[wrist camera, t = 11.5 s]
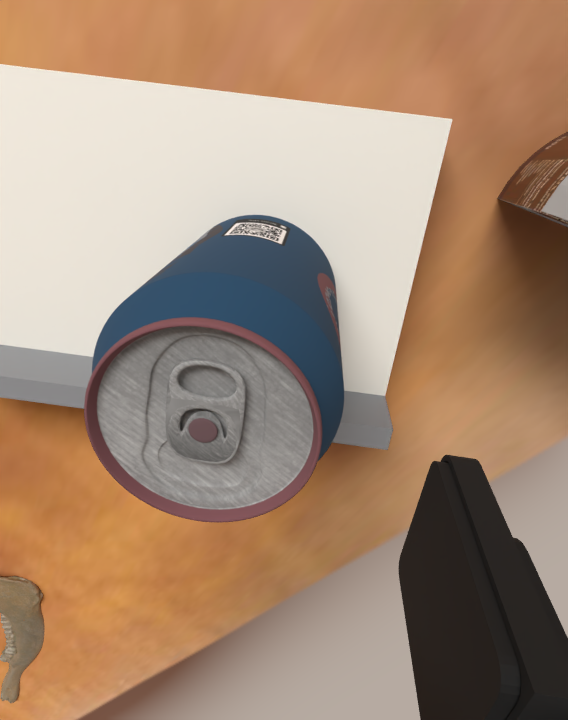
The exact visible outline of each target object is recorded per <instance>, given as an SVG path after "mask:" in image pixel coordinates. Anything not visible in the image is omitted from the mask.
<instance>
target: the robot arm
mask: <svg viewBox="0 0 568 720" xmlns="http://www.w3.org/2000/svg"><path fill="white" fill-rule="evenodd" d="M399 578H400V586H401V592H402V599H403V605H404V612H405V619H406V625H407V632H408V639H409V645H410V652H411V658H412V665H413V671H414V679H415V685H416V692H417V698H418V705H419V712H420V718H421V720H568V638H567V636H566V634H565V632H564V629H563V627H562V625H561V623H560V621H559V618H558V616H557V614H556V612H555V610H554V608H553V605H552V603H551V601H550V599H549V597H548V595H547V593H546V591H545V588H544V586H543V584H542V582H541V580H540V577H539V575H538V573H537V571H536V569H535V566H534V564H533V562H532V560H531V558H530V555H529V553H528V551H527V550H526V548H525V546H524V545H523V543H522V542H521V541H520V540H518V539H517V538H513V537H512V535H511V532H510V530H509V528H508V526H507V523H506V521H505V519H504V517H503V514H502V512H501V510H500V508H499V505H498V503H497V501H496V498H495V496H494V494H493V492H492V489H491V487H490V485H489V482H488V480H487V478H486V476H485V473H484V471H483V469H482V467H481V464H480V463H479V461H478V460H476V459H472V458H465V457H458V456H451V455H445V456H444V457H443V458H442V460H441V462H438V461H433V462H432V464H431V466H430V469H429V472H428V475H427V478H426V481H425V484H424V487H423V490H422V493H421V496H420V499H419V502H418V505H417V508H416V511H415V514H414V517H413V520H412V522H411V525H410V528H409V531H408V535H407V538H406V541H405V543H404V546H403V549H402V553H401V555H400V560H399Z"/></svg>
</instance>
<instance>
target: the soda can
mask: <svg viewBox="0 0 568 720" xmlns="http://www.w3.org/2000/svg"><path fill="white" fill-rule="evenodd" d="M343 407H344V381H343V369H342V357H341V344H340V332H339V320H338V308H337V295H336V284H335V278H334V274H333V271H332V268H331V265H330V263H329V261H328V259H327V257H326V255H325V253H324V252H323V250H322V249H321V248H320V246H319V245H318V244H317V243H316V242H315V240H314V239H313V238H312V237H310V236H309V235H308V234H307V233H306V232H305V231H303V230H302V229H300V228H299V227H297V226H295V225H294V224H292V223H290V222H287V221H285V220H282V219H279V218H276V217H272V216H266V215H244V216H239V217H235V218H231V219H228V220H226V221H223V222H221V223H219V224H217V225H216V226H214V227H213V228H211V229H210V230H208V231H207V232H206V233H205V234H204V235H202V236H201V237H200V238H199V239H198V240H196V241H195V242H194V243H193V244H192V245H190V246H189V247H188V248H187V249H186V250H184V251H183V252H182V253H181V254H180V255H178V256H177V257H176V258H175V259H173V260H172V261H171V262H170V263H169V264H167V265H166V266H165V267H164V268H163V269H161V270H160V271H159V272H158V273H157V274H155V275H154V276H153V277H152V278H151V279H149V280H148V281H147V282H146V283H145V284H143V285H142V286H141V287H140V288H139V289H137V290H136V291H135V292H134V293H133V294H131V295H130V296H129V297H128V298H127V299H126V300H124V301H123V302H122V303H121V304H120V305H119V306H118V307H117V308H116V309H115V310H114V312H113V313H112V314H111V316H110V317H109V318H108V320H107V321H106V323H105V325H104V327H103V329H102V331H101V333H100V335H99V337H98V340H97V343H96V346H95V350H94V355H93V362H92V375H91V377H90V380H89V382H88V386H87V389H86V394H85V402H84V416H85V424H86V429H87V433H88V436H89V439H90V442H91V444H92V447H93V449H94V451H95V453H96V454H97V456H98V458H99V460H100V461H101V463H102V464H103V466H104V467H105V468H106V470H107V471H108V472H109V473H110V474H111V475H112V477H113V478H114V479H115V480H116V481H117V482H118V483H119V484H120V485H122V486H123V487H124V488H125V489H126V490H127V491H129V492H130V493H131V494H133V495H134V496H136V497H137V498H138V499H140V500H142V501H143V502H145V503H147V504H149V505H151V506H152V507H154V508H157V509H159V510H161V511H163V512H166V513H169V514H172V515H175V516H178V517H182V518H186V519H190V520H196V521H203V522H233V521H240V520H245V519H250V518H254V517H257V516H260V515H263V514H265V513H268V512H270V511H272V510H274V509H276V508H278V507H279V506H281V505H283V504H284V503H286V502H287V501H288V500H290V499H291V498H292V497H293V496H295V495H296V494H297V493H298V492H299V491H300V490H301V489H302V488H303V487H304V485H305V484H306V483H307V481H308V480H309V478H310V477H311V475H312V473H313V471H314V469H315V467H316V464H317V462H318V461H319V459H320V458H321V457H322V456H323V455H324V453H325V452H326V451H327V450H328V448H329V446H330V445H331V443H332V441H333V439H334V437H335V435H336V433H337V430H338V428H339V425H340V422H341V418H342V413H343Z"/></svg>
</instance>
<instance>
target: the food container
mask: <svg viewBox="0 0 568 720" xmlns="http://www.w3.org/2000/svg"><path fill="white" fill-rule="evenodd" d="M497 199H500V200H502V201H505V202H507V203H510V204H512V205H515V206H517V207H519V208H522V209H524V210H527V211H529V212H532V213H534V214H537V215H539V216H542V217H544V218H546V219H549V220H551V221H554V222H556V223H559V224H561V225H564V226H566V227H568V132H566V133H565V134H563V135H561V136H559V137H557V138H556V139H554V140H552V141H550V142H549V143H547V144H546V145H545V146H543V147H542V148H541V149H539V150H538V151H537V152H535V153H534V154H533V155H532V156H531V157H530V158H529V159H528V160H527V161H526V162H525V163H524V164H522V165H521V166H520V167H519V169H518V170H517V171H516V172H515V174H514V175H513V176H512V177H511V178H510V180H509V181H508V182H507V184H506V185H505V187H504V189H503V190H502V192H501V193H500V195H499V197H498V198H497Z"/></svg>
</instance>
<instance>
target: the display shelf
mask: <svg viewBox="0 0 568 720" xmlns="http://www.w3.org/2000/svg"><path fill="white" fill-rule="evenodd" d="M451 123H452V119H447V118H439V117H431V116H422V115H414V114H406V113H398V112H389V111H381V110H373V109H365V108H356V107H348V106H340V105H332V104H323V103H315V102H307V101H299V100H291V99H282V98H274V97H266V96H258V95H249V94H241V93H233V92H225V91H216V90H208V89H200V88H192V87H183V86H175V85H167V84H159V83H150V82H142V81H134V80H126V79H118V78H109V77H101V76H93V75H85V74H76V73H68V72H60V71H52V70H43V69H35V68H27V67H19V66H10V65H2V64H0V397H2V398H9V399H17V400H24V401H31V402H39V403H46V404H53V405H61V406H68V407H75V408H83V409H84V402H85V394H86V389H87V386H88V382H89V380H90V377H91V375H92V362H93V355H94V350H95V346H96V343H97V340H98V337H99V335H100V333H101V331H102V329H103V327H104V325H105V323H106V321H107V320H108V318H109V317H110V316H111V314H112V313H113V312H114V310H115V309H116V308H117V307H118V306H119V305H120V304H121V303H122V302H123V301H124V300H126V299H127V298H128V297H129V296H130V295H131V294H133V293H134V292H135V291H136V290H137V289H139V288H140V287H141V286H142V285H143V284H145V283H146V282H147V281H148V280H149V279H151V278H152V277H153V276H154V275H155V274H157V273H158V272H159V271H160V270H161V269H163V268H164V267H165V266H166V265H167V264H169V263H170V262H171V261H172V260H173V259H175V258H176V257H177V256H178V255H180V254H181V253H182V252H183V251H184V250H186V249H187V248H188V247H189V246H190V245H192V244H193V243H194V242H195V241H196V240H198V239H199V238H200V237H201V236H202V235H204V234H205V233H206V232H207V231H208V230H210V229H211V228H213V227H214V226H216V225H217V224H219V223H221V222H223V221H226V220H228V219H231V218H235V217H239V216H244V215H266V216H272V217H276V218H279V219H282V220H285V221H287V222H290V223H292V224H294V225H295V226H297V227H299V228H300V229H302V230H303V231H305V232H306V233H307V234H308V235H309V236H310V237H312V238H313V239H314V240H315V242H316V243H317V244H318V245H319V246H320V248H321V249H322V250H323V252H324V253H325V255H326V257H327V259H328V261H329V263H330V265H331V268H332V271H333V274H334V278H335V284H336V295H337V308H338V320H339V332H340V344H341V357H342V369H343V381H344V407H343V413H342V418H341V422H340V425H339V428H338V430H337V433H336V435H335V437H334V439H333V441H332V442H333V443H340V444H348V445H355V446H362V447H370V448H377V449H384V450H388V447H389V443H390V439H391V435H392V431H393V427H392V423H391V418H390V414H389V410H388V406H387V402H386V398H385V394H386V390H387V386H388V382H389V378H390V374H391V369H392V365H393V361H394V357H395V353H396V349H397V345H398V341H399V337H400V332H401V328H402V324H403V320H404V316H405V312H406V308H407V304H408V300H409V296H410V291H411V287H412V283H413V279H414V275H415V271H416V267H417V263H418V259H419V254H420V250H421V246H422V242H423V238H424V234H425V230H426V226H427V222H428V218H429V213H430V209H431V205H432V201H433V197H434V193H435V189H436V185H437V181H438V176H439V172H440V168H441V164H442V160H443V156H444V152H445V148H446V144H447V140H448V135H449V131H450V127H451Z"/></svg>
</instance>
